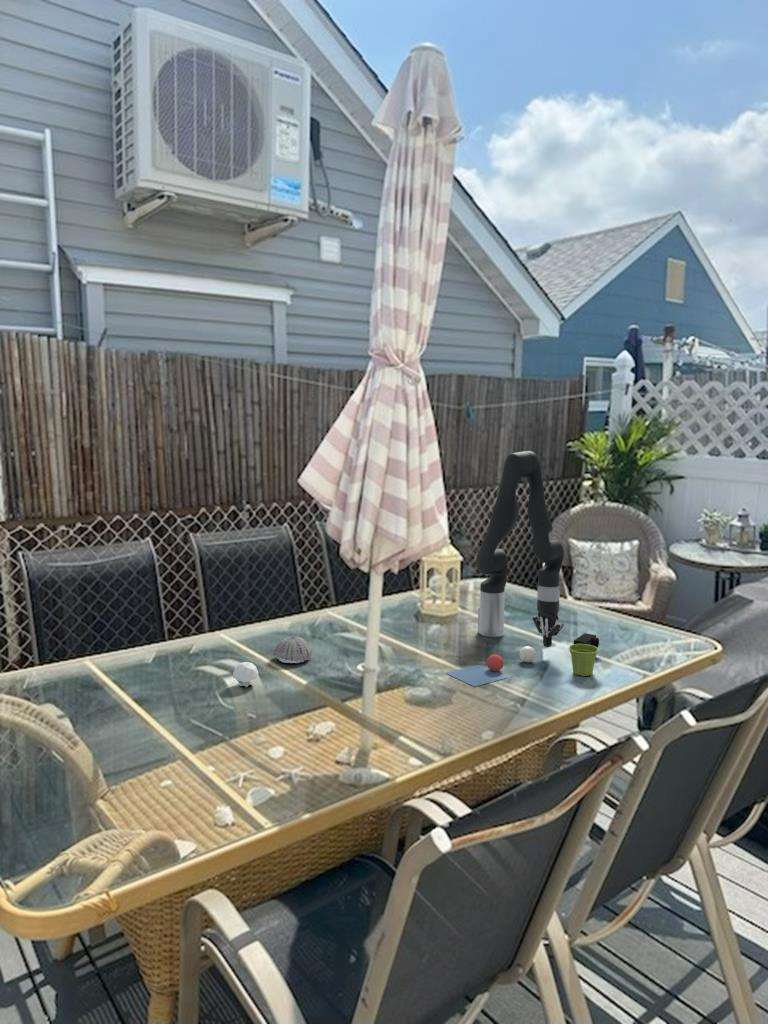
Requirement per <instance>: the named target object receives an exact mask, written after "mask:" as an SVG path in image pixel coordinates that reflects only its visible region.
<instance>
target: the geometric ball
mask: <svg viewBox="0 0 768 1024" xmlns="http://www.w3.org/2000/svg"><path fill="white" fill-rule="evenodd" d="M232 677H233V679H234V678H235V679H236V680H239V681H242V682H248V681H251V680H254V679H256V678H257V677H259V671H258V669H257V666H256V665H255V664H254V663H252V662H248V661H243V662H241V663H238V664H237V665H236V666H235V668H234V669H233V674H232ZM257 679H258V678H257Z"/></svg>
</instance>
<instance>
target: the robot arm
mask: <svg viewBox="0 0 768 1024" xmlns="http://www.w3.org/2000/svg"><path fill="white" fill-rule="evenodd" d="M521 479H526V480H527V482H528V483H527V484H528V487H529V496H528V497H529V498H528V503H527V517H528V520H529V524H530V528H531V531H532V543H533V545H532V547H533V552H534V556H535V557H536V559H537V560H538V561H539V562H541V563H544V565H543V566H542V567H541V568H540V569H539V571H538V575H537V576H538V577H537V578H538V579H537V581H538V586H537V590H536V591H537V593H536V595H537V597H536V598H537V599H536V602H537V603H536V610H537V615H536V616H533V617H532V622H533V623H534V625H535V627H536V629H537V632H538V633H539V634H541V636H542V643H543V647H544V648H550V647H552V644H553V643H552V642H553V637H556V636H557V635H559V633H560V631H562V629H563V627H564V625H565V624H564V623H561V622H560V620H559V619H560V618H559V612H560V598H561V597H560V572H561V569H562V564H563V562H564V557H565V555H564V554H565V549H564V546H563V544H562V543H561V542H560V541H559V540H556V539H552V540H550V536H549V535H550V533H552V531H553V529H554V528H553V527H554V526H553V522H552V519H551V517H550V514H549V510H548V507H547V502H546V497H545V490H544V481H543V475H542V469H541V463H540V460H539V457H538V455H537V454H536V453H535V452H534V451H532V450H526V451H525V450H523V451H518V452H512V453H510V454H509V455H507V456H506V458H505V461H504V464H503V469H502V475H501V479H500V480H501V481H500V485H499V489H498V492H497V497H496V500H495V503H494V506H493V509H492V513H491V516H490V519H489V524H488V527H487V529H486V532H485V536H484V537H483V541H482V542H481V545H480V547H479V550H478V552H477V554H476V555H477V556H476V560H475V565H476V569H477V571H478V573H479V574H482V575H490V576H489V577H488V578H487V579H485V580H484V581H482V582H481V583H480V588H479V589H480V591H479V592H480V595H479V596H480V597H479V608H478V609H477V612H478V613H477V632H478V633H479V635H481V636H482V637H485V638H486V637H487V638H500V637H503V636H504V632H505V592H506V591H505V589H506V585H507V580H508V579H507V576H508V564H509V562H508V561H509V560H508V556H507V552H506V551H505V550H504V549H503V548H498V546H499V545H500V543H502V541H503V540H504V539H505V538H506V537H507V536H508V535H510V533H511V532H512V531H513V530H514V528H515V526H516V524H517V522H518V521H517V520H518V518H519V514H520V505H519V502H518V497H517V493H516V492H517V489H518V484H519V481H520V480H521Z"/></svg>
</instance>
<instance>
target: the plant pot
mask: <svg viewBox="0 0 768 1024" xmlns="http://www.w3.org/2000/svg"><path fill="white" fill-rule="evenodd" d="M568 650H569V652H570V655H571V656H570V658H571V664H572V673H573V674H575V675H576V674H577V675H581V676H580V677H582V676H586V677H587V676H588V677H590V676H589V675H591V676H592V675H593V673H594V667H595V663H596V662H595V660H596V657H597V653H598V652H599V647H598V648H597V647H595V646H592V645H587V644H574V643H572V644H571V645H569V646H568ZM577 675H576V676H577Z"/></svg>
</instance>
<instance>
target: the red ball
mask: <svg viewBox="0 0 768 1024" xmlns="http://www.w3.org/2000/svg"><path fill="white" fill-rule="evenodd" d="M486 665H487V669H490V670H492V671H494V672H500V671H501V670H502V669H503V667H504V659H503V657H501V656H500V655H499V654H490V656H488V658H487V660H486Z"/></svg>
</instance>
